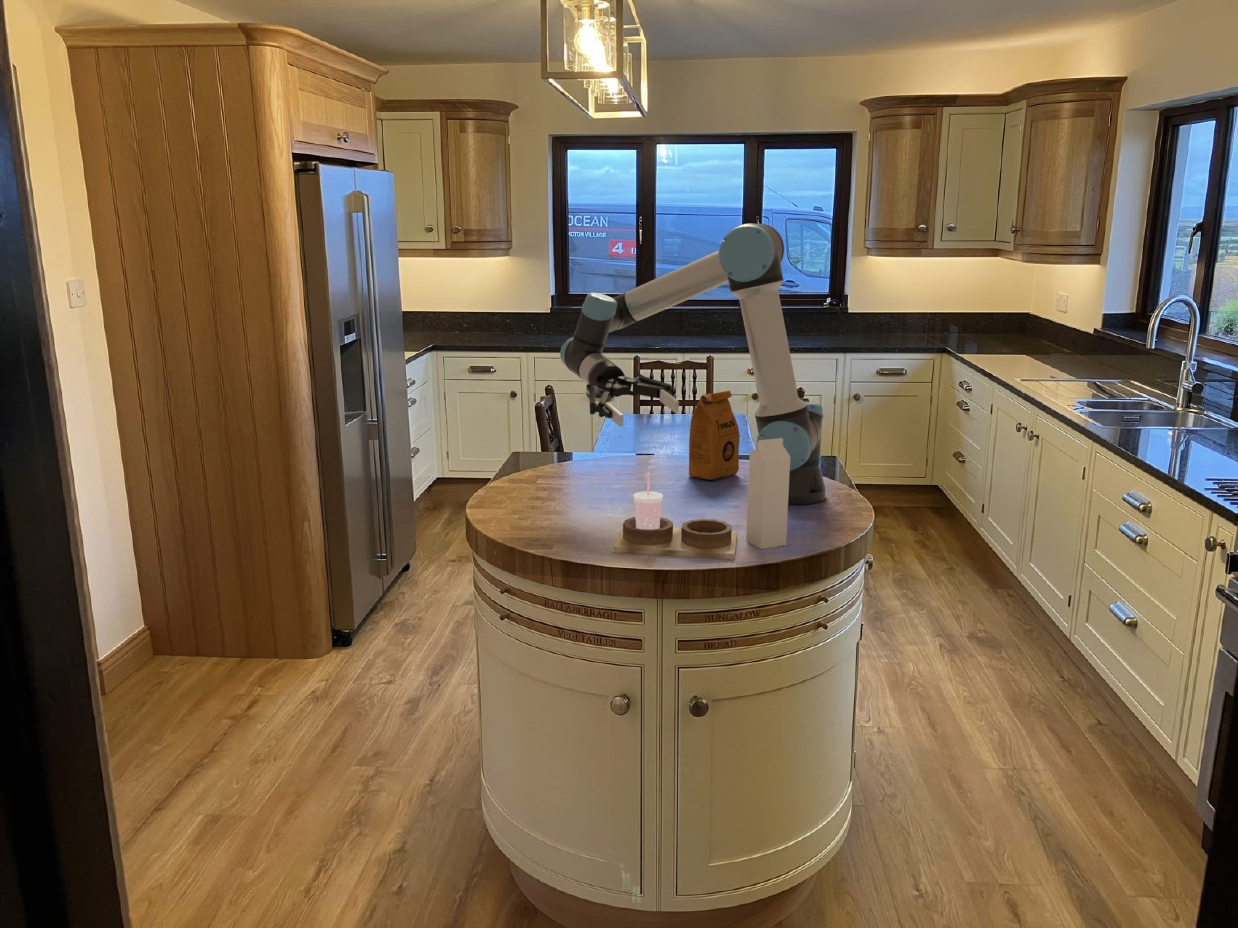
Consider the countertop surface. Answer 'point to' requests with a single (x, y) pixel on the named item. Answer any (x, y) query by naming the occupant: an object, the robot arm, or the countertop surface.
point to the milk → (768, 494)
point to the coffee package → (713, 438)
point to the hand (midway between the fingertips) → (649, 414)
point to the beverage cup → (648, 508)
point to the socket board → (679, 539)
